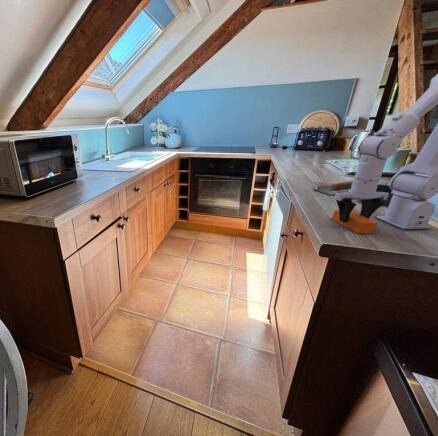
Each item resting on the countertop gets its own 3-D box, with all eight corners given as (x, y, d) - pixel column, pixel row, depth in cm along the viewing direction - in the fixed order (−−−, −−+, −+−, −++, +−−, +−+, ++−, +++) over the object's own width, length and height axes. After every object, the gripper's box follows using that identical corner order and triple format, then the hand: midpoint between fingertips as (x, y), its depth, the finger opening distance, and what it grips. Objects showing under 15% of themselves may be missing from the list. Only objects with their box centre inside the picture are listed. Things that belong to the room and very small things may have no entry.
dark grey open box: (401, 207, 91) (406, 195, 89) (360, 202, 97) (365, 190, 95) (393, 197, 102) (397, 186, 100) (357, 193, 108) (361, 182, 106)
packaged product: (335, 185, 103) (314, 180, 112) (332, 196, 105) (312, 190, 114) (365, 181, 108) (343, 176, 117) (362, 191, 110) (340, 186, 119)
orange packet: (373, 233, 72) (377, 222, 71) (357, 233, 72) (361, 222, 71) (345, 219, 82) (348, 209, 81) (331, 219, 82) (334, 209, 81)
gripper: (379, 175, 75) (365, 215, 80) (332, 176, 75) (321, 216, 80) (401, 180, 68) (384, 224, 74) (350, 181, 68) (336, 225, 74)
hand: (352, 221), depth 76 cm, fingers open, 6 cm apart
